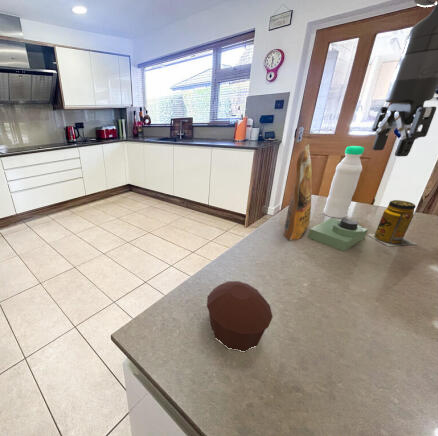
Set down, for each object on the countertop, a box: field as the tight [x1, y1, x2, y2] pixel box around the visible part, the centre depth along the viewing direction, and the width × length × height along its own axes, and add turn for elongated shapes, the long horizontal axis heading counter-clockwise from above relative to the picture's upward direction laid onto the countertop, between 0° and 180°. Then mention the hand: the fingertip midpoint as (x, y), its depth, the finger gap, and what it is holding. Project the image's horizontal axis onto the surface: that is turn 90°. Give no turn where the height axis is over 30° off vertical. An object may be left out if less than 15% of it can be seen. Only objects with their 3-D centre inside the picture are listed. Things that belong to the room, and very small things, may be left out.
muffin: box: [206, 280, 274, 352], centre depth 44 cm, size 12×11×10 cm
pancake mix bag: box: [283, 142, 313, 242], centre depth 74 cm, size 7×19×28 cm, turn 136°
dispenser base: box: [307, 217, 369, 252], centre depth 73 cm, size 13×10×5 cm
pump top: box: [339, 218, 359, 230], centre depth 70 cm, size 4×4×2 cm
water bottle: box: [323, 145, 365, 219], centre depth 83 cm, size 7×7×25 cm
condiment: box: [367, 199, 417, 247], centre depth 69 cm, size 7×8×12 cm
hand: (388, 152), depth 58 cm, fingers open, 8 cm apart
